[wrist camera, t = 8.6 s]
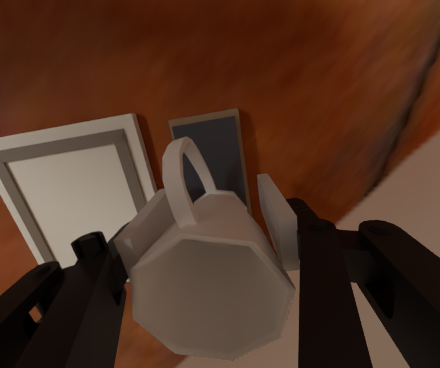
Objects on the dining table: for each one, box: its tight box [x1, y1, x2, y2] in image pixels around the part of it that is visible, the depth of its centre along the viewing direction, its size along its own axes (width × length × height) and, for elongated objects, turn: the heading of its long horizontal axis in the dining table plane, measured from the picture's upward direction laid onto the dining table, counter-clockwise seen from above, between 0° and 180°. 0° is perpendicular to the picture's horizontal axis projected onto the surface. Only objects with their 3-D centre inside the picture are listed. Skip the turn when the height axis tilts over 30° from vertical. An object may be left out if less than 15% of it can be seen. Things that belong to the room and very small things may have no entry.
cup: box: [130, 137, 296, 361], centre depth 12 cm, size 7×10×8 cm
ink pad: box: [168, 108, 252, 217], centre depth 18 cm, size 12×6×2 cm, turn 10°
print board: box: [0, 113, 158, 282], centre depth 19 cm, size 16×14×1 cm
